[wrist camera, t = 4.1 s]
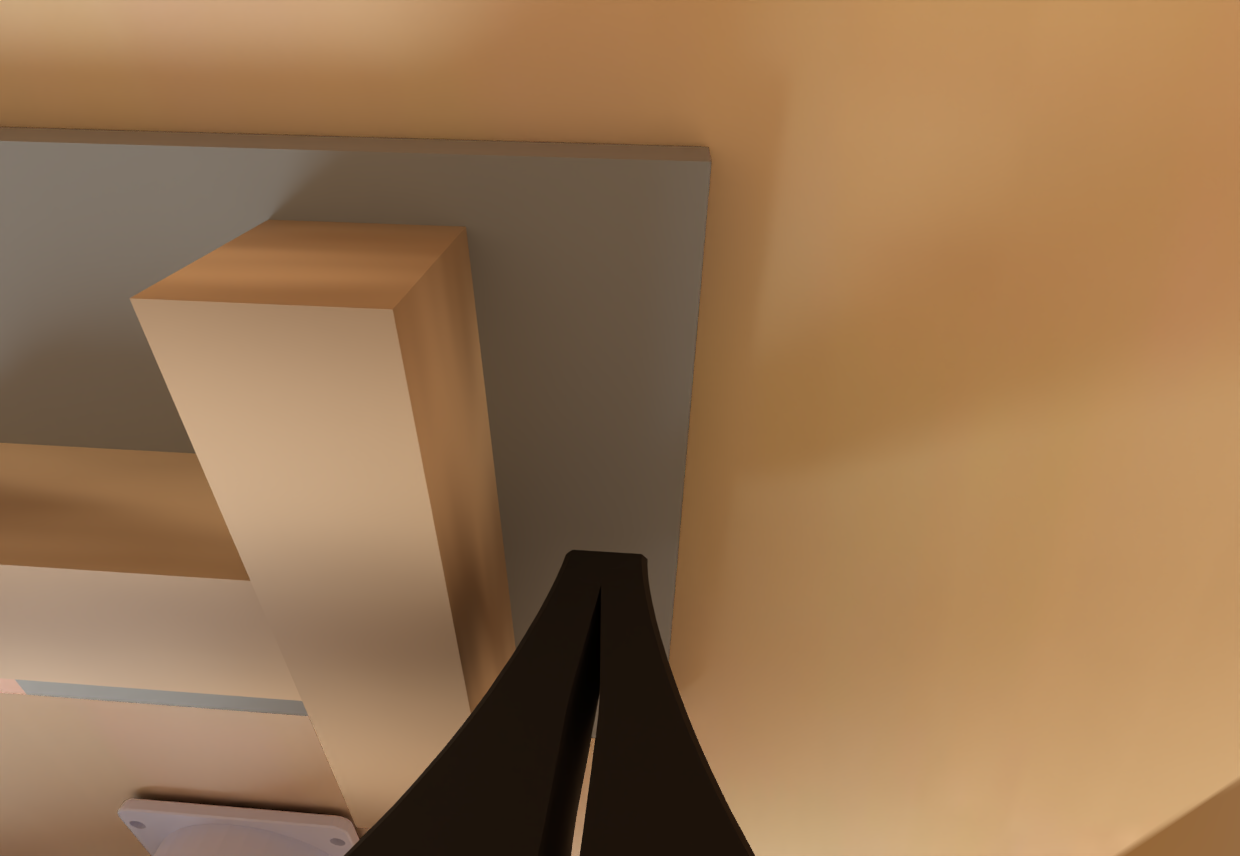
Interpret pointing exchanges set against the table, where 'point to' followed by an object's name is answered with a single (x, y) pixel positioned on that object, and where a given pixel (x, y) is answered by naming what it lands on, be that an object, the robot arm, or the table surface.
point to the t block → (286, 504)
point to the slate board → (385, 194)
